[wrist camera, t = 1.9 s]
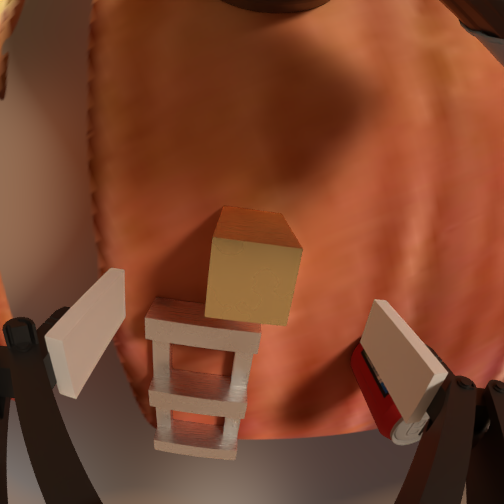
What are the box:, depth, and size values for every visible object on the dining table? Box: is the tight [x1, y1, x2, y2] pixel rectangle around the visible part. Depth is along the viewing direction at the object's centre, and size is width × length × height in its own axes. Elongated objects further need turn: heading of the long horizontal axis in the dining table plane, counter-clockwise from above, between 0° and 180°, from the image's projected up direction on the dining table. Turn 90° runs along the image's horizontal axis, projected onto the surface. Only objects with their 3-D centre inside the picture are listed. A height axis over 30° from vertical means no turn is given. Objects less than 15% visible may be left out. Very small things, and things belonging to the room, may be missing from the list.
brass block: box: [205, 206, 303, 326], centre depth 22 cm, size 5×5×10 cm
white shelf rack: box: [145, 297, 261, 460], centre depth 30 cm, size 20×10×4 cm, turn 172°
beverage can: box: [351, 343, 429, 445], centre depth 26 cm, size 7×7×12 cm
